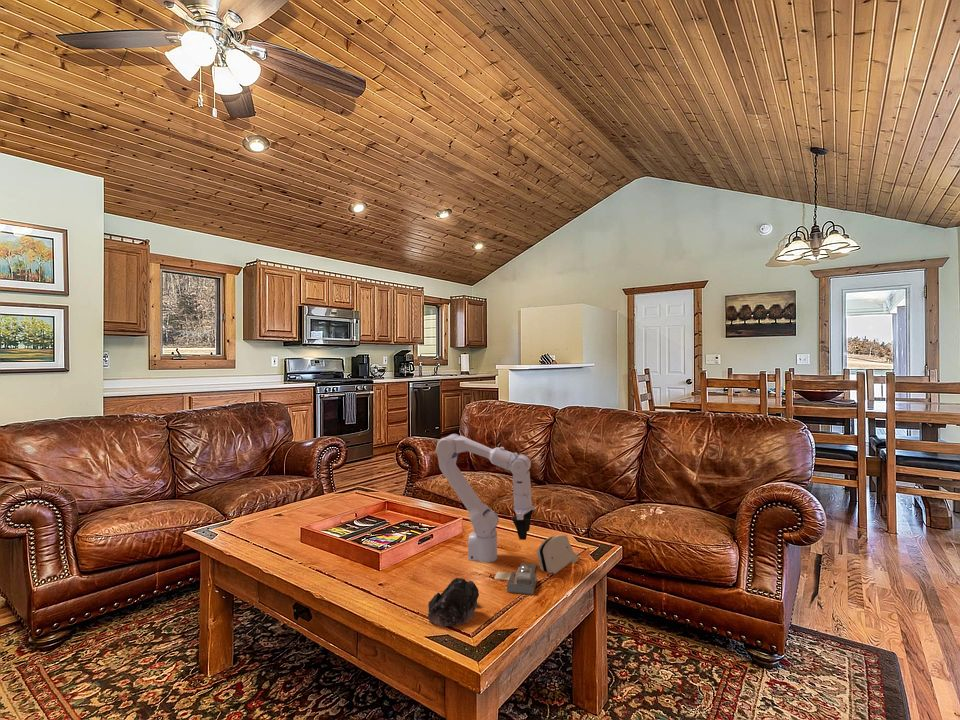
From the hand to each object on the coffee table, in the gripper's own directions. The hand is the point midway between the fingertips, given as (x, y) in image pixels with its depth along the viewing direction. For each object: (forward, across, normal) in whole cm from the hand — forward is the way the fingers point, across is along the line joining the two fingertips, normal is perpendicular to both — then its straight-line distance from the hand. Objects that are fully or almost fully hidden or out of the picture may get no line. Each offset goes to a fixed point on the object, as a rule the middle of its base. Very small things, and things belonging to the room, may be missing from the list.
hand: (524, 535), depth 160 cm
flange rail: (+10, -11, -1) cm, 15 cm away
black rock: (+10, -34, +15) cm, 38 cm away
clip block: (+9, -16, -2) cm, 18 cm away
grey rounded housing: (+11, +2, -10) cm, 15 cm away
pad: (+10, -11, +5) cm, 16 cm away
